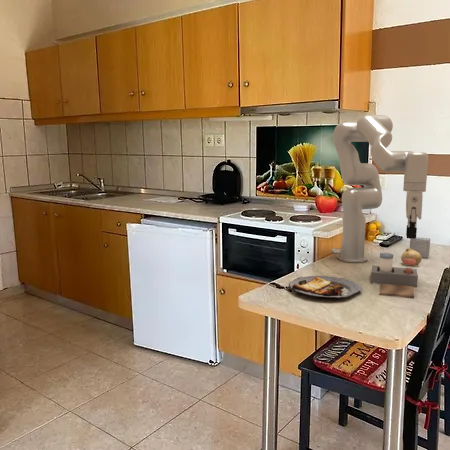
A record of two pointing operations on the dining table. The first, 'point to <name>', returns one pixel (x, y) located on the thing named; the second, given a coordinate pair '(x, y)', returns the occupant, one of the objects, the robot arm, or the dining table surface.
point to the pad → (396, 290)
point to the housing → (394, 276)
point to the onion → (411, 255)
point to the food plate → (324, 286)
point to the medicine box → (421, 246)
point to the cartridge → (386, 262)
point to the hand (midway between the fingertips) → (411, 236)
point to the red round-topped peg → (409, 262)
